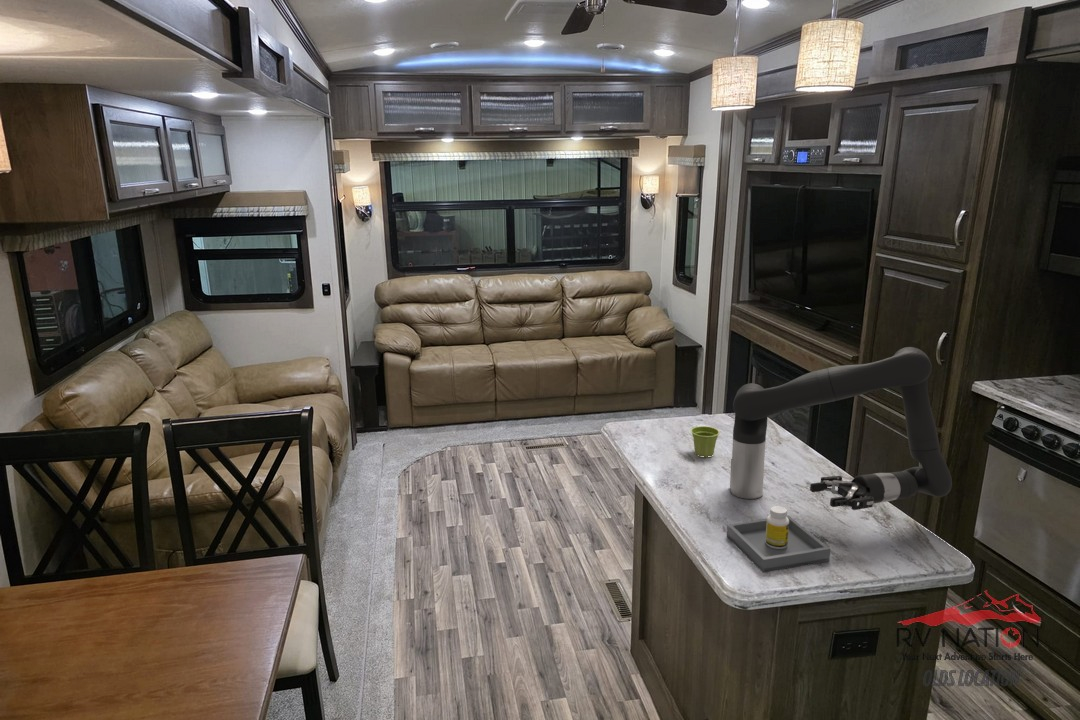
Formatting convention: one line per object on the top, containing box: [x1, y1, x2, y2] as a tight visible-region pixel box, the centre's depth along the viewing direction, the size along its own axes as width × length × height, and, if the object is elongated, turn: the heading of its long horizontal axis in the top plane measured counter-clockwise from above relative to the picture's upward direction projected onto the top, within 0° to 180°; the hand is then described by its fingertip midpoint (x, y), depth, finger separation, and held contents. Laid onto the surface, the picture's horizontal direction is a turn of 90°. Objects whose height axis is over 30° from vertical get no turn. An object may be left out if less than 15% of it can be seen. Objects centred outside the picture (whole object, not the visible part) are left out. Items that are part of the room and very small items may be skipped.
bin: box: [726, 514, 831, 573], centre depth 177 cm, size 18×18×4 cm
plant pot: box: [690, 425, 720, 458], centre depth 236 cm, size 9×9×9 cm
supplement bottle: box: [765, 505, 789, 549], centre depth 176 cm, size 5×5×10 cm
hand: (820, 495), depth 178 cm, fingers open, 8 cm apart
